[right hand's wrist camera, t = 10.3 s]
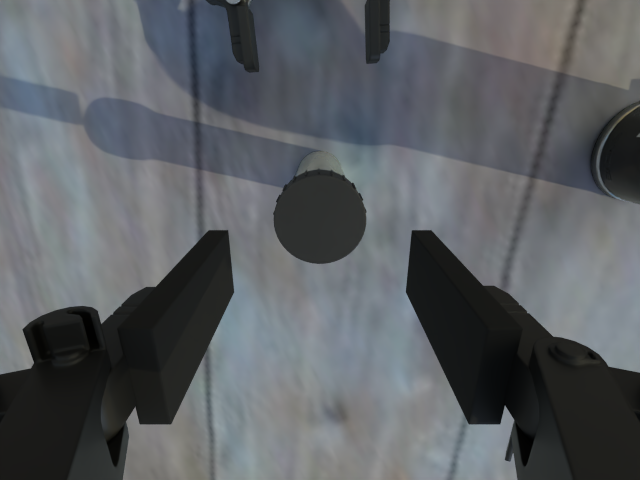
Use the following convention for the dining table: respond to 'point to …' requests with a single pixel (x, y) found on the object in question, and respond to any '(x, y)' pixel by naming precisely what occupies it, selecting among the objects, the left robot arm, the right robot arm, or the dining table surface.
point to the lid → (320, 216)
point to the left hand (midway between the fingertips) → (312, 66)
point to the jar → (319, 163)
